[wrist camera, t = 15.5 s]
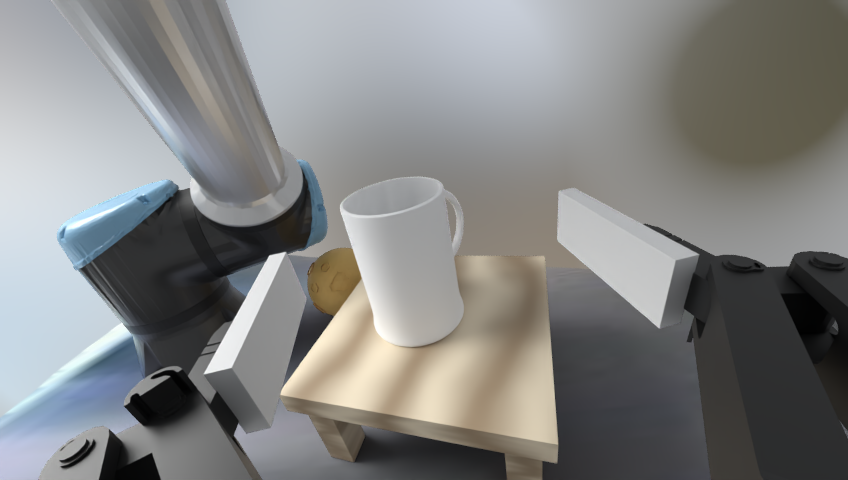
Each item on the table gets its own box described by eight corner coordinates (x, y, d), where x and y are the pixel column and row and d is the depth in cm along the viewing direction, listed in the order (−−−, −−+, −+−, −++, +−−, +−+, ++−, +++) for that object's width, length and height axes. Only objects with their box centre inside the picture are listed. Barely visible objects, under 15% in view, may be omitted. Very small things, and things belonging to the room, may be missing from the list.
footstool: (319, 464, 29) (278, 394, 25) (395, 314, 46) (378, 255, 41) (554, 523, 23) (558, 444, 18) (543, 324, 39) (544, 256, 35)
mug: (446, 262, 37) (429, 160, 31) (506, 290, 31) (499, 170, 25) (358, 316, 31) (318, 203, 26) (410, 365, 25) (372, 230, 19)
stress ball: (367, 288, 54) (310, 265, 51) (393, 251, 49) (331, 223, 46) (354, 339, 46) (286, 315, 44) (383, 302, 41) (308, 271, 38)
